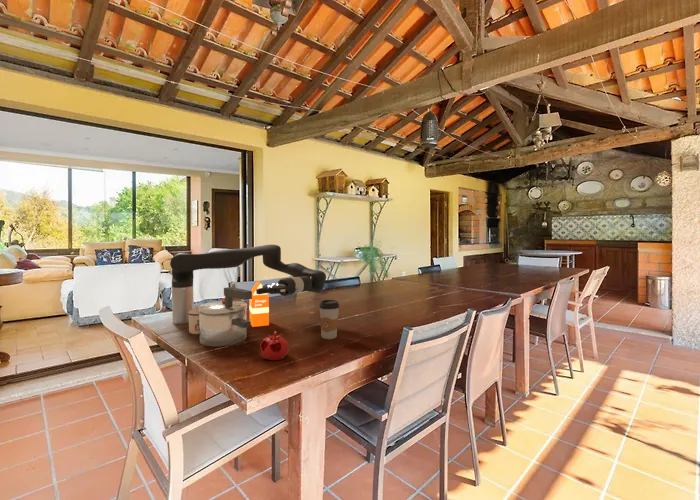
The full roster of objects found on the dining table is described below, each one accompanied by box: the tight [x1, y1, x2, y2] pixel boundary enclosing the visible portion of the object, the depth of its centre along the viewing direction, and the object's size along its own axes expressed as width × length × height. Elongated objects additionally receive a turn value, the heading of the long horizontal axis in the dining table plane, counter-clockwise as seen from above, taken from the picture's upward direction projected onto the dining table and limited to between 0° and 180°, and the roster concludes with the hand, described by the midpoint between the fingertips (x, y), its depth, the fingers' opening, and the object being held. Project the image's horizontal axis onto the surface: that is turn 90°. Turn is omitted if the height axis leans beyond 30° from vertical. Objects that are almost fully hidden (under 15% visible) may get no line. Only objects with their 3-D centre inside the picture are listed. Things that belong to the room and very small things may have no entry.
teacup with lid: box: [188, 304, 201, 335], centre depth 152 cm, size 12×9×12 cm
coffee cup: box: [318, 299, 340, 340], centre depth 144 cm, size 8×8×15 cm
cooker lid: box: [198, 286, 252, 315], centre depth 138 cm, size 26×19×9 cm
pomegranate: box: [259, 330, 290, 361], centre depth 122 cm, size 10×10×9 cm
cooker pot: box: [199, 309, 252, 347], centre depth 139 cm, size 26×18×12 cm
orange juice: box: [248, 280, 270, 328], centre depth 164 cm, size 8×9×20 cm
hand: (257, 291), depth 138 cm, fingers closed
